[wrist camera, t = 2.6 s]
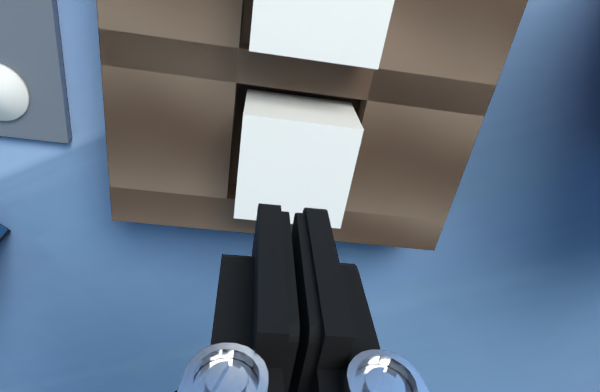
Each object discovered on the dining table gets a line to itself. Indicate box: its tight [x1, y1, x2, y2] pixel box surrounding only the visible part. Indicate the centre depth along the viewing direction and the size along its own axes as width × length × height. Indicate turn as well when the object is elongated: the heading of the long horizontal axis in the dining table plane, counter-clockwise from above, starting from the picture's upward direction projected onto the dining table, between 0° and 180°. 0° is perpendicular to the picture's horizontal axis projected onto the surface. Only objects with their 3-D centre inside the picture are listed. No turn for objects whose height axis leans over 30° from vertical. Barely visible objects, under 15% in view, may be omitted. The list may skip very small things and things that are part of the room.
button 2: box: [234, 89, 364, 229], centre depth 17 cm, size 4×4×3 cm
